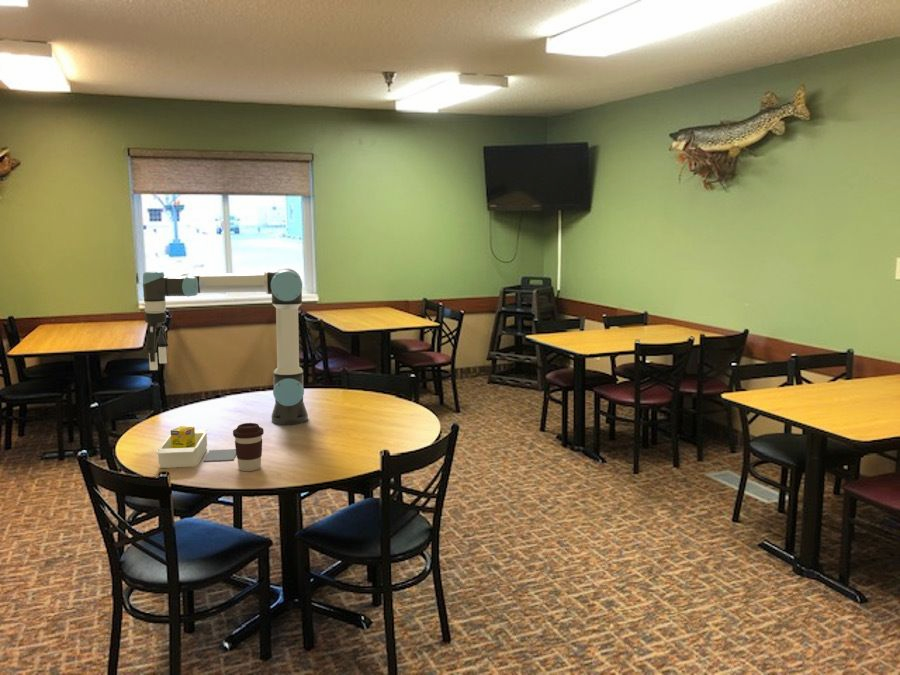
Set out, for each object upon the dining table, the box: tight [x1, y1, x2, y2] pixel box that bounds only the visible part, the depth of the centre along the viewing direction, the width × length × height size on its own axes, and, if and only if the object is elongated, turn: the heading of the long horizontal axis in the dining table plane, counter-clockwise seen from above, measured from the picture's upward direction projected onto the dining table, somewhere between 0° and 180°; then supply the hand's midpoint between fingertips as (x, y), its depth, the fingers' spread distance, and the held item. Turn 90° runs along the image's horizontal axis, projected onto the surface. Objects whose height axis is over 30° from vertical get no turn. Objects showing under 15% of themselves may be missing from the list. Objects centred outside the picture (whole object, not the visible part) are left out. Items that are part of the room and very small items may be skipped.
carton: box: [156, 428, 208, 469], centre depth 245 cm, size 13×27×6 cm, turn 10°
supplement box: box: [170, 425, 196, 448], centre depth 245 cm, size 6×6×11 cm
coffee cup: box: [232, 422, 265, 472], centre depth 235 cm, size 10×10×15 cm
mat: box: [203, 448, 237, 463], centre depth 249 cm, size 10×12×1 cm
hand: (158, 366), depth 268 cm, fingers open, 13 cm apart
